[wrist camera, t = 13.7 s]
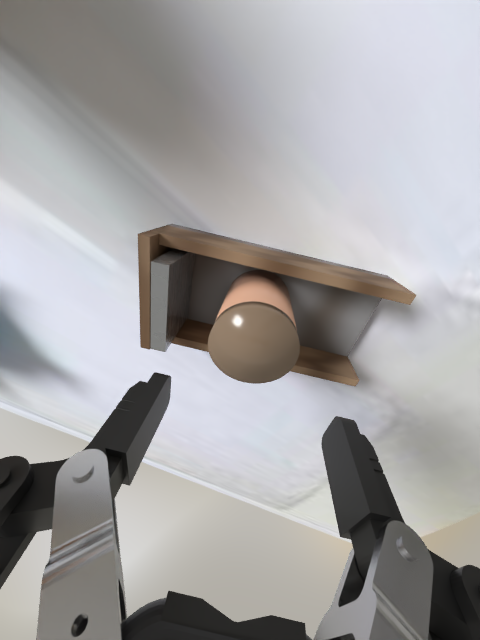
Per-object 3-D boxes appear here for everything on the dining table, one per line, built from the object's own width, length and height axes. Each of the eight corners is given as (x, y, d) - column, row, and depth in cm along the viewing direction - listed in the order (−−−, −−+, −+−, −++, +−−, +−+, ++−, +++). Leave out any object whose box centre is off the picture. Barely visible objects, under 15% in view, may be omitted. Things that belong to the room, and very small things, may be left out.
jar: (298, 278, 20) (314, 321, 13) (279, 332, 23) (283, 391, 16) (233, 263, 20) (215, 298, 13) (222, 319, 23) (202, 372, 16)
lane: (387, 275, 20) (429, 304, 15) (341, 356, 25) (361, 399, 20) (171, 223, 20) (137, 233, 15) (167, 315, 25) (140, 347, 19)
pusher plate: (195, 246, 19) (169, 265, 14) (188, 316, 23) (165, 351, 18) (182, 243, 19) (150, 261, 14) (177, 314, 23) (150, 348, 18)
